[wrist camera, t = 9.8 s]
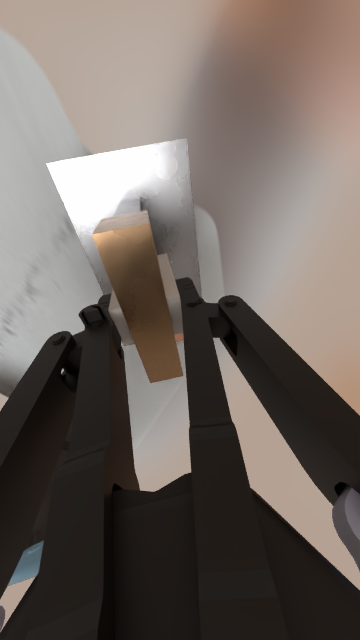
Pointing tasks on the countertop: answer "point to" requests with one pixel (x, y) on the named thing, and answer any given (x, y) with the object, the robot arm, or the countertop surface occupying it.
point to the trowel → (136, 235)
